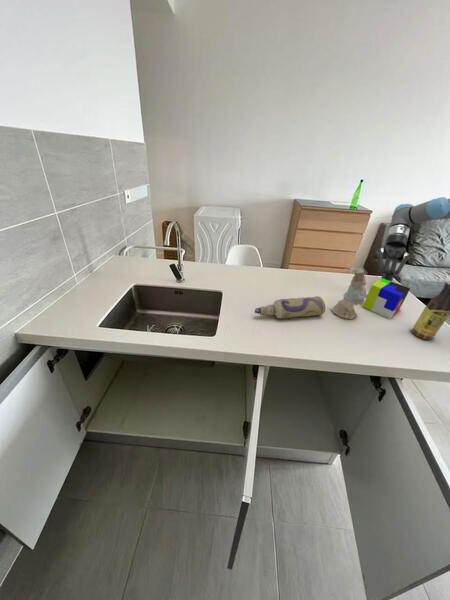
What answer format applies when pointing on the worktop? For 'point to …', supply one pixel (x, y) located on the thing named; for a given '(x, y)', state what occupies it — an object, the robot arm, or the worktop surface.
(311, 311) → the decorative bottle
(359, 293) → the figurine
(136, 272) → the worktop surface
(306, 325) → the worktop surface
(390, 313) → the puzzle toy
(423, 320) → the sauce bottle
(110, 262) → the worktop surface
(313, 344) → the worktop surface
